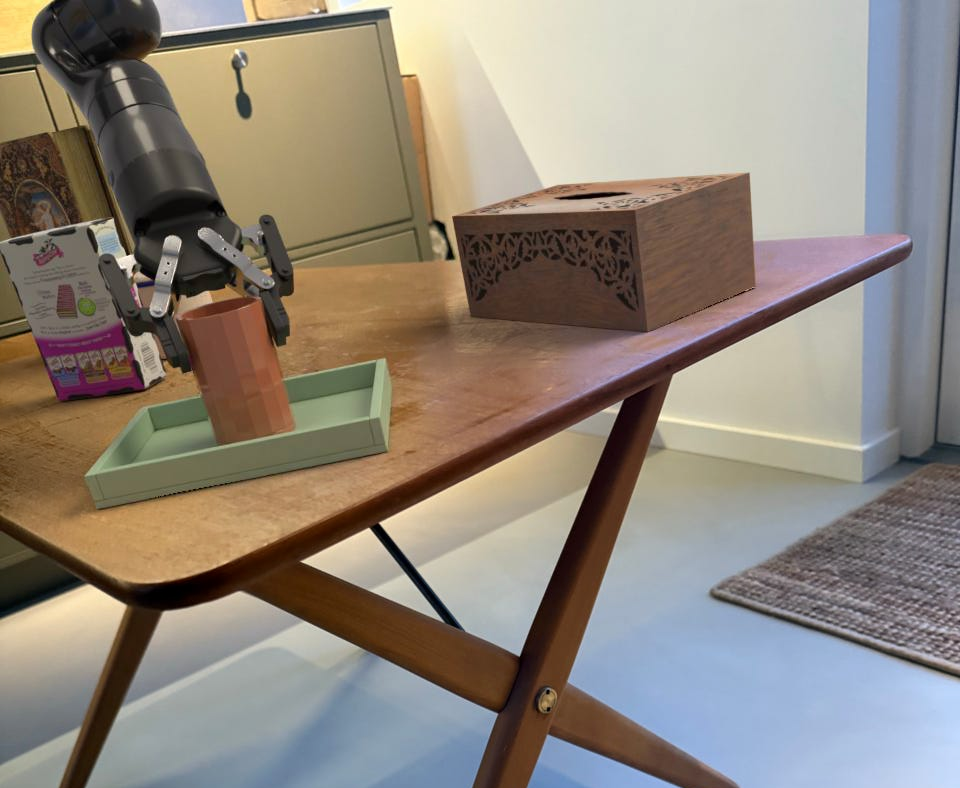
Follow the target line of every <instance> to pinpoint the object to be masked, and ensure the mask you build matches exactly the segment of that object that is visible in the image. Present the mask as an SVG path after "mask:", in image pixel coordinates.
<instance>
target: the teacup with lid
mask: <svg viewBox="0 0 960 788" xmlns="http://www.w3.org/2000/svg"><path fill="white" fill-rule="evenodd" d="M134 280H135V282H136V285H137V288H138V292H139V295H140V298H141V300H142V303H143V306H144V307H146V308H150V305H151V301H152V298H153V294H154V284H155V281H153V280H151V279H149V278H148V277H146V276H144V275H143V274H141V273H140V272H137V273H136V274H135V275H134ZM209 303H213V298H212V296H211V291H205V292H203V293H201V294H199V295H197V296H194V297H190V298H186V295H182V296H181V300H180V304H179V308H178V312H177V314H175V316H174V321H175V324H176V326H177V329H178V331H179V328H178V325H177V322H176V317H177V316H178V315H179V314H181V313H183V312H185V311H187V310H190V309H193V308H196V307H199V306H202V305H205V304H209ZM179 334H180V331H179ZM153 336H154V339H155V342H156V344H157V347H158V350H159V353H160V356H161V359H162V360H167V358H166V356H165V353H164V351H163V348H162V346H161V343H160V341H159V339H158V337H157V336H156V335H155V334H153ZM180 336H181V334H180ZM181 338H182V337H181ZM182 341H183V340H182Z"/></svg>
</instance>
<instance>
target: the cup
mask: <svg viewBox="0 0 960 788" xmlns="http://www.w3.org/2000/svg"><path fill="white" fill-rule="evenodd" d="M212 302H213V301H212ZM176 322H177V325H178V328H179V331H180V334H181V337H182V340H183V343H184V346H185V348H186V350H187V353H188V356H189V359H190V364H191V369H192V371H191V372H192V374H193V377H194V380H195V383H196V387H197V390H198V393H199V396H201V399H202V402H203V405H204V408H205V411H206V415H207V418H208V421H209V424H210V427H211V430H212V433H213V436H214V438H215V440H216V443H217V446H223V445H228V444H232V443H237V442H242V441H247V440H252V439H257V438H262V437H267V436H272V435H277V434H282V433H287V432H292V431H294V429H295V428H296V423H295V419H294V418H295V417H294V413H293V409H292V406H291V402H290V399H289V395H288V392H287V388H286V384H285V381H284V378H285V377H284V374H283V371H282V366H281V363H280V359H279V356H278V352H277V349H276V344H275V342H274V339H273V337H272V334H271V331H270V327H269V324H268V320H267V317H266V313H265V309H264V306H263V302H262V299H261V297H258V296H244V297H243V296H239V297H232V298H227V299H226V298H225V299H221V300H217V301H214V302H213V303H209V304H205V305H202V306H199V307H196V308H193V309H190V310H187V311H185V312H183V313H181V314H179V315H178V316H177V317H176Z"/></svg>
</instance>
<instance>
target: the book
mask: <svg viewBox="0 0 960 788" xmlns="http://www.w3.org/2000/svg"><path fill="white" fill-rule="evenodd" d="M120 213H121V212H120V209H119V206H118V203H117V200H116V198H115V195H114V193H113V191H112V188H111V186H110V184H109V181H108V178H107V176H106V172H105V169H104V165H103V160H102V156H101V153H100V151H99V148H98V146H97V144H96V141H95V139H94V136H93V134H92V131H91V129H90V126H89V124H82V125H78V126H74V127H69V128H65V129H61V130H57V131H52V132H51V131H45V132H41V133H37V134H33V135H29V136H25V137H19V138H16V139H11V140H8V141H3V142H0V214H1V217H2V219H3V223H4V225H5V228H6V230H7V232H8V235H9V239H11V238H15V237H19V236H23V235H28V234H32V233H36V232H40V231H45V230H50V229H54V228H59V227H63V226H68V225H73V224H78V223H83V222H88V221H93V220H99V219H104V218H109V217H114V220H115V224H116V226H117V229H118V232H119V235H120V238H121V241H122V244H123V247H124V250H125V253H126V256H128V255H132V254H133V252H134V251H133V249H132V246H131V243H130V240H129V237H128V234H127V231H126V228H125V225H124V221H123V220H122V217H121V214H120Z"/></svg>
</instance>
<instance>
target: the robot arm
mask: <svg viewBox="0 0 960 788" xmlns="http://www.w3.org/2000/svg"><path fill="white" fill-rule="evenodd" d="M162 29H163V26H162V19H161V15H160V12H159V10H158V7H157V5H156V4H155V1H154V0H51V1H50V2H49V3H48V4H47V5H46V6H44V7H43V8H42V9H41V10H40V11H39V12H38V13H37V15H36V16H35V17H34V20H33V22H32V27H31V34H30V35H31V36H30V37H31V45H32V49H33V51H34V55H35V56H36V58H37V59H38V61H39V62H40V64H41V65H42V66H43V68H44V69H45V70H46V71H47V73H48V74H49V75H50V76H51V77H52V78H53V79H54V80H55V82H57V83H58V84H59V85H60V87H61V88H62V89H63V90H64V91H65V92H66V93H67V94H68V96H69V97H70V98H71V99H72V101H73V102H74V103H75V105H76V106H77V108H78V109H79V110H80V112H81V114H82V115H83V117H84V118H85V120H86V122H87V125H88V126H89V127H90V129H91V131H92V134H93V136H94V139H95V142H96V145H97V148H98V151H99V154H100V157H101V160H102V163H103V166H104V169H105V172H106V176H107V178H108V181H109V184H110V187H111V190H112V193H113V195H114V198H115V201H116V204H117V206H118V209H119V211H120V213H121V215H122V218H123V220H124V222H125V224H126V227H127V229H128V232H129V234H130V237H131V239H132V241H133V244H134V248H133V251H132V252H133V254H132V255H128V256H125V257H122V258H118V259H115V257H114V256H113V255H112V254H108V253H106V254H103V255H101V256H100V257H99V263H100V267H101V270H102V274H103V277H104V280H105V284H106V286H107V288H108V290H109V292H110V294H111V296H112V298H113V300H114V303H115V305H116V307H117V309H118V311H119V313H120V315H121V317H122V319H123V321H124V324H125V326H126V328H127V330H128V332H129V334H130V335H132V336H135V337H138V336H141V335H142V334H143V333H153V334H155V335H156V336H157V337H158V339H159V341H160V343H161V346H162V348H163V351H164V353H165V356H166V358H167V359H166V361H167V363H168V365H169V366H170V367H171V368H172V369H177V368H179V369H180V371H181V373H182V374H188V373H190V372H193V371H192V368H191V364H190V359H189V356H188V353H187V350H186V348H185V346H184V343H183V341H182V338H181V336H180V334H179V331H178V329H177V326H176V324H175V321H174V316H175V314H177V312H178V308H179V304H180V300H181V296H182V295H186V298H190V297H194V296H197V295H199V294H201V293H203V292H205V291H209V292H215V291H221V290H225V289H226V287H228V288H229V289H230V290H232V291H233V292H235V294H238V296H240V297H245V296H258V297H261V299H262V302H263V306H264V309H265V313H266V317H267V320H268V324H269V327H270V331H271V334H272V338H273V342H274V345H275V347H277V348H279V347H283V346H286V345H287V338H288V337H290V336H291V326H290V325H291V324H290V321H291V320H290V317H289V315H288V313H287V311H286V307H285V306H284V303H283V301H282V300H281V299H282V298H283V297H291V296H292V295H293V294H294V293H295V278H294V277H295V275H294V266H293V264H292V261H291V258H290V256H289V254H288V251H287V248H286V246H285V243H284V240H283V238H282V236H281V232H280V230H279V228H278V225H277V222H276V220H275V218H274V217H273V216H272V215H270V214H263V215H260V217H258V224H254V225H249V226H244V227H243V226H242V227H240V226H239V224H237V223H236V222H234V220H232V219H231V218H230V217H229V215H228V212H227V210H226V208H225V206H224V203H223V200H222V199H221V196H220V195H219V192H218V190H217V188H216V186H215V183H214V181H213V179H212V176H211V174H210V172H209V169H208V167H207V161H206V159H205V157H204V156H203V154H202V152H201V151H200V150H199V147H198V146H197V143H196V142H195V140H194V138H193V136H192V135H191V134H190V131H188V129H187V127H186V125H185V124H184V122H183V120H182V117H181V114H180V113H179V111H178V109H177V106H176V104H175V102H174V99H173V97H172V94H171V91H170V90H169V88H168V86H167V83H166V82H165V80H164V78H163V77H162V76H161V74H160V73H159V72H158V71H157V70H156V69H155V68H154V67H153V66H152V65H150V64H149V63H147V62H145V61H143V60H144V59H145V58H147V57H148V56H149V55H150V54H152V53H153V52H154V51H155V50H156V49H157V47H158V46H159V45H160V43H161V39H162V35H163V30H162ZM245 246H250V247H252V248H253V250H254V251H255V252H256V253H257V254H258V255H259V256H261V257H265V259H266V262H267V263H268V266H269V269H270V271H271V274H270V275H269V274H267V273H266V272H264V271H263V270H261V269H260V268H259V267H257V265H255V264H254V262H253V261H252V259H251V258H250V257H249V256H248V255H246V254H245V253H243V251H244V248H245ZM137 272H140V273H141V274H143V275H144V276H146V277H148V278H149V279H151V280H153V281H155V284H154V294H153V298H152V301H151V305H150V308H146V307H139V306H138V304H137V302H136V300H135V298H134V296H133V294H132V292H131V290H130V289H131V287H132V286H133V285H134V275H135V274H136V273H137Z"/></svg>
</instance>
